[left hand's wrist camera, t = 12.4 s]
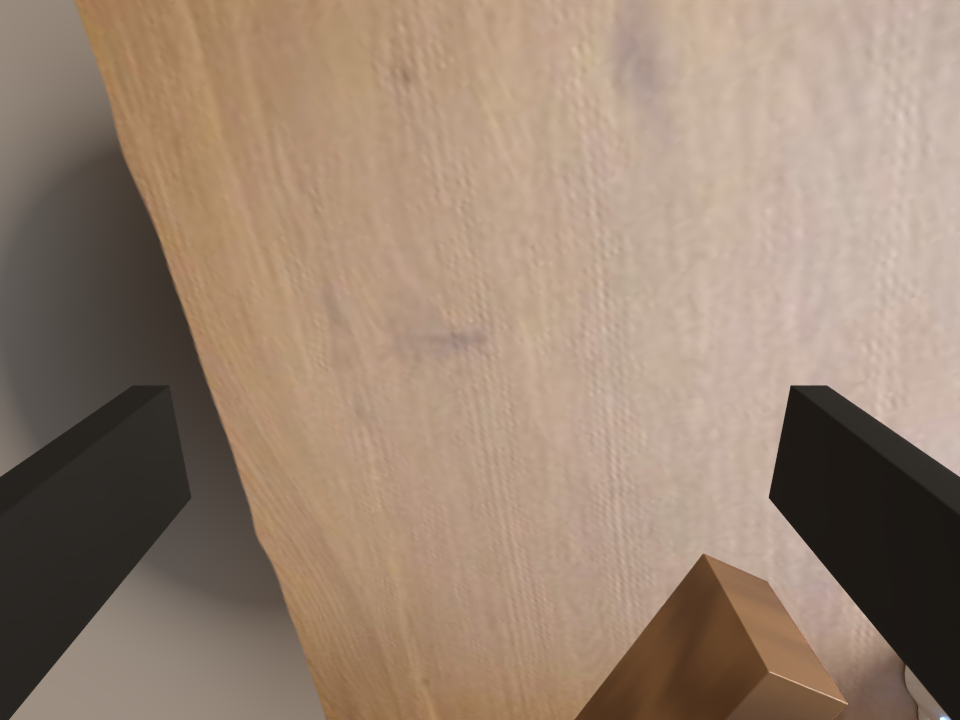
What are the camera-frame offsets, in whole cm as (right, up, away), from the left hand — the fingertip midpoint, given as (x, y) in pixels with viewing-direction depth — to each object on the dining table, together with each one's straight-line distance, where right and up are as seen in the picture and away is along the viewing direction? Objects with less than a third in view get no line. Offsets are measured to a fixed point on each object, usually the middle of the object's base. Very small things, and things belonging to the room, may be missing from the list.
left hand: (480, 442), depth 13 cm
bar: (+10, -24, +30) cm, 40 cm away
